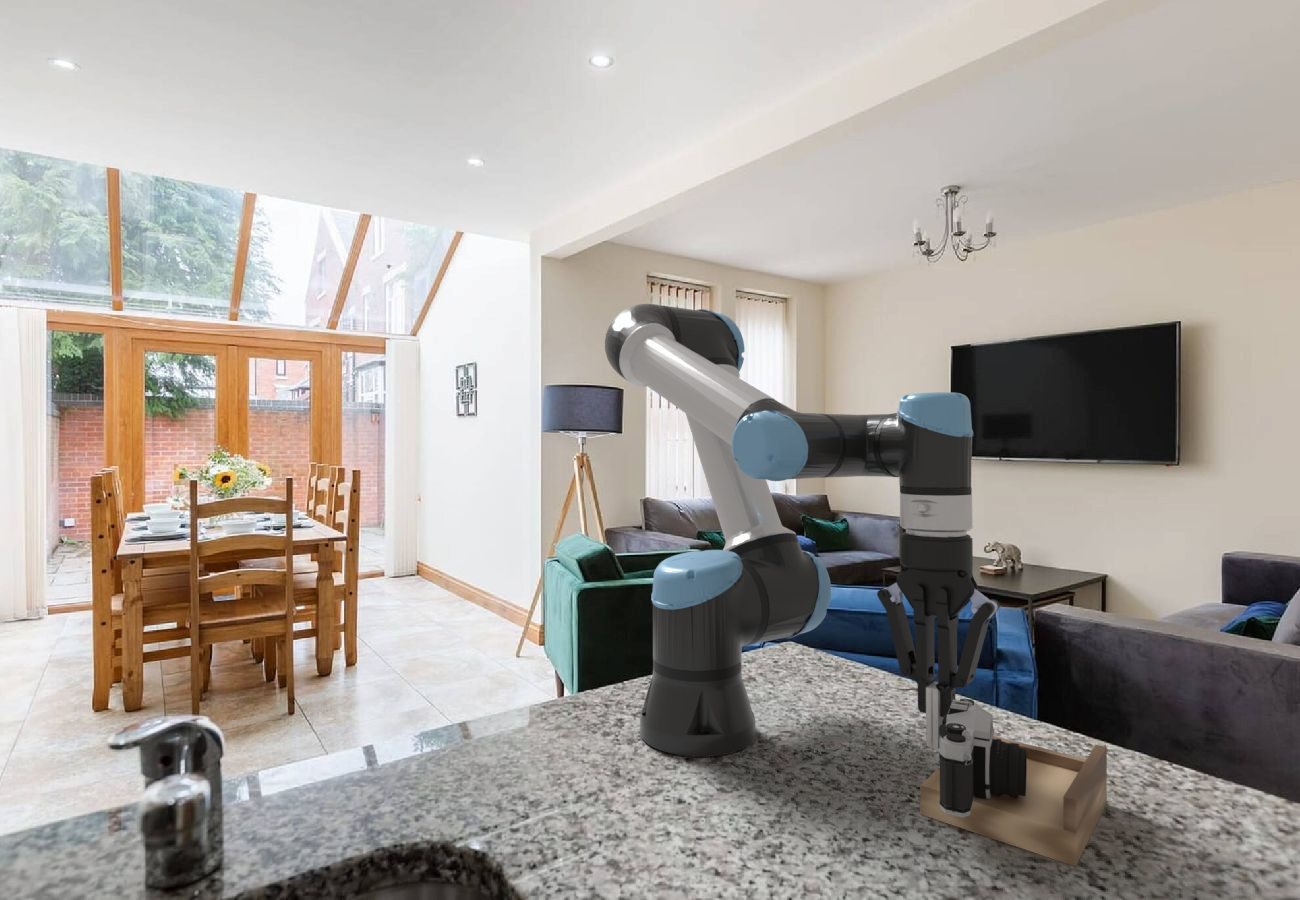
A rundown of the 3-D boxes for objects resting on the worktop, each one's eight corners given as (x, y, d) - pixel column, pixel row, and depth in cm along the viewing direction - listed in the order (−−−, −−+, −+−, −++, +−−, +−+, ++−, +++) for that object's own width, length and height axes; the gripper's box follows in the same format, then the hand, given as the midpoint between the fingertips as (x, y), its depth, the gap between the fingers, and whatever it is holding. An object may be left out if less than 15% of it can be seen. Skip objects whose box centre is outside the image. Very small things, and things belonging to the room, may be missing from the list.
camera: (1026, 835, 65) (1028, 733, 65) (933, 813, 68) (936, 716, 69) (1025, 785, 76) (1027, 698, 77) (946, 769, 80) (948, 686, 80)
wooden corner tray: (920, 814, 74) (920, 755, 74) (968, 765, 85) (968, 714, 85) (1075, 866, 65) (1075, 800, 65) (1106, 803, 76) (1106, 746, 76)
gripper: (866, 530, 82) (867, 738, 82) (986, 540, 73) (987, 772, 73) (893, 525, 87) (894, 719, 87) (1007, 533, 79) (1008, 748, 79)
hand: (936, 743), depth 80 cm, fingers closed
